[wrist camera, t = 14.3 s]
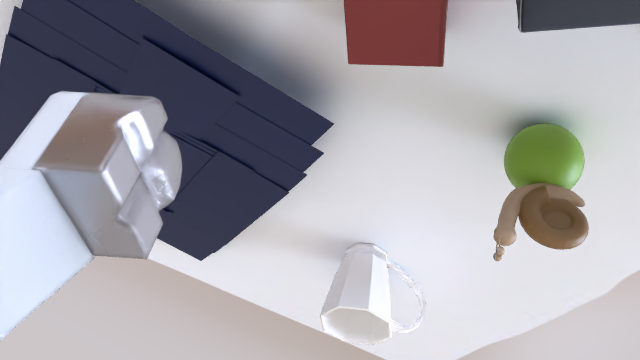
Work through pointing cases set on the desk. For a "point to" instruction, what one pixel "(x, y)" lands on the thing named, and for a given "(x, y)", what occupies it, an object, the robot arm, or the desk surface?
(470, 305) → the desk surface
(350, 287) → the cup
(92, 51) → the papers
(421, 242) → the desk surface
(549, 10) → the small box
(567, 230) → the snail figurine
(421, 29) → the pocket dictionary
